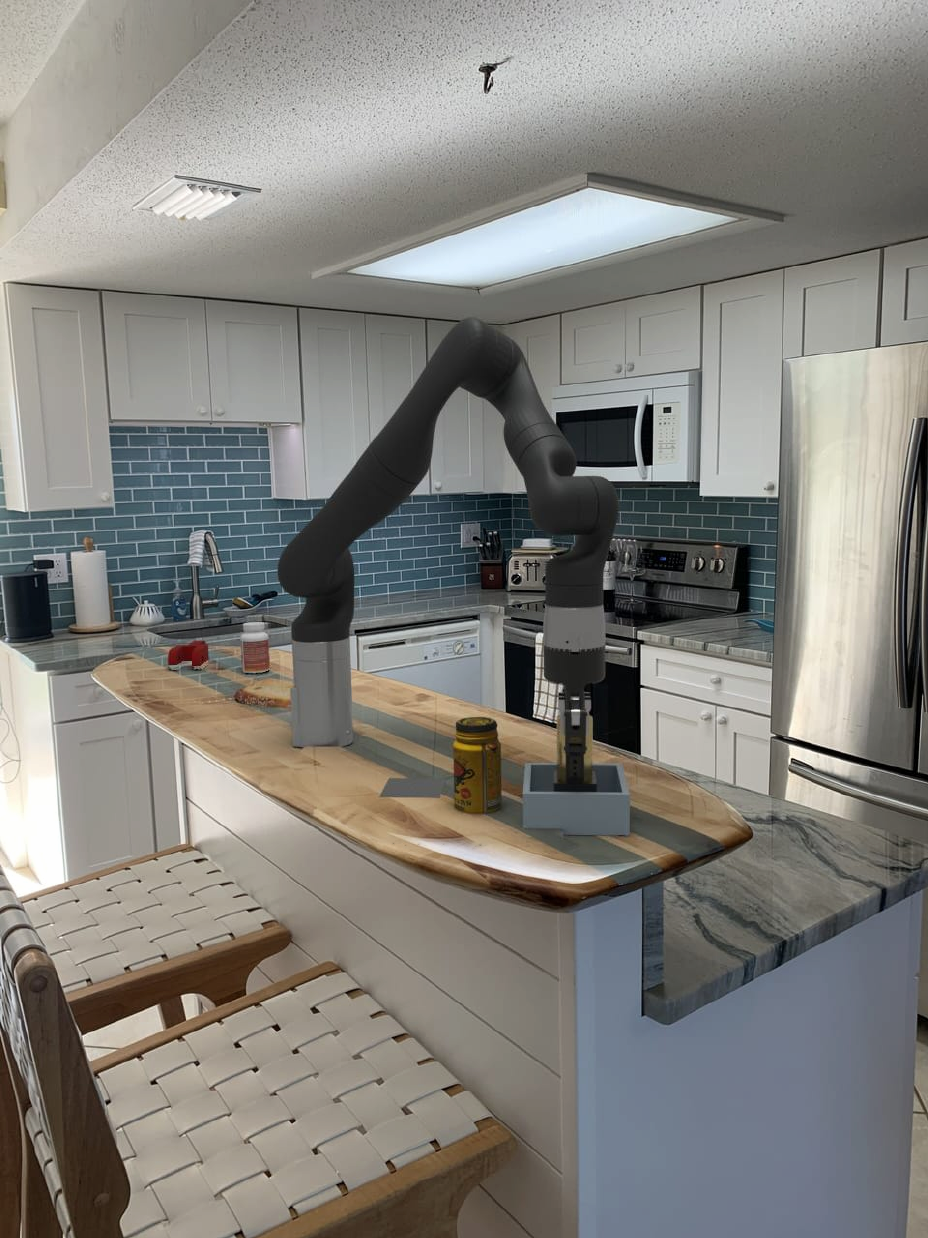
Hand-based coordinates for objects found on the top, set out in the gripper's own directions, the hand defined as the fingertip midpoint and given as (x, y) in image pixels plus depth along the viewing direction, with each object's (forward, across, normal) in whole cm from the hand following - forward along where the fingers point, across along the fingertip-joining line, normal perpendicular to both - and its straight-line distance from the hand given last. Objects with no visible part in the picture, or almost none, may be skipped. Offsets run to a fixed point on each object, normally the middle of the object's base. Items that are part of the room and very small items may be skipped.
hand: (574, 776), depth 121 cm
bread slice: (+6, -65, -55) cm, 85 cm away
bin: (+5, 0, 0) cm, 5 cm away
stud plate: (+5, -8, -21) cm, 24 cm away
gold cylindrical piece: (+2, 0, 0) cm, 2 cm away
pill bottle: (+6, -91, -68) cm, 114 cm away
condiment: (+5, -2, -12) cm, 13 cm away
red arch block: (+6, -100, -86) cm, 132 cm away
